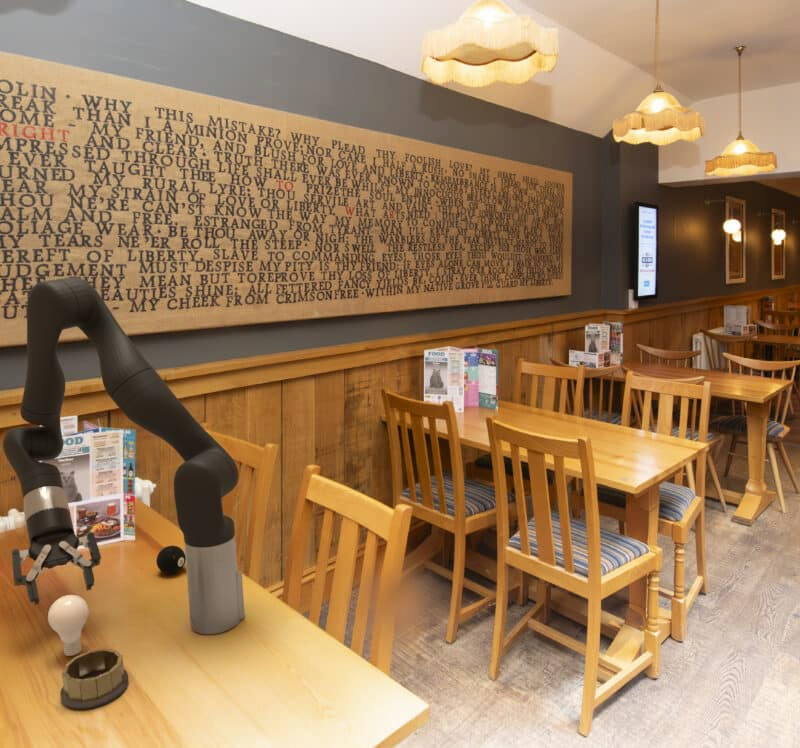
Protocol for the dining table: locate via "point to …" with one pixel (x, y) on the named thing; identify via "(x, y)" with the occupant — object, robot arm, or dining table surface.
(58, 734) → the dining table surface
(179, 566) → the billiard ball
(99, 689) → the bulb holder
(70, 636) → the lightbulb
